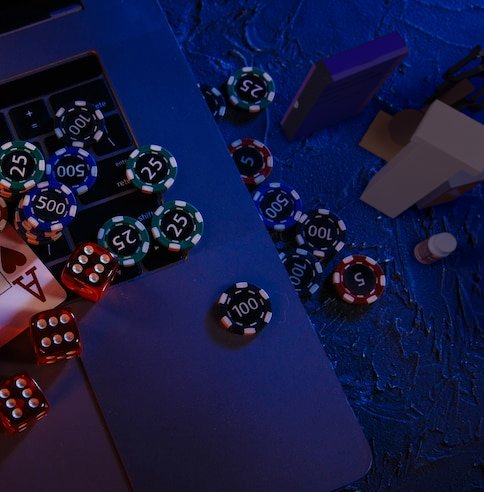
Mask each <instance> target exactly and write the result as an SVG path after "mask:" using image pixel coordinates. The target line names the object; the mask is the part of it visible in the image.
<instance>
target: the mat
mask: <svg viewBox="0 0 484 492" xmlns="http://www.w3.org/2000/svg"><path fill="white" fill-rule="evenodd" d="M392 117H393V116H392V115H390V114H389V113H387V112H386V111H383V110H382V109H380V110H378V113H377V114H376V116H375V117H374V119H373V120H372V122H371V124H370V125H369V127H368V129H367V130H366V132H365V133H364V135H363V137H362V138H361V140H360V142H358V146H360V147H361V148H363V149H365V150H367V151H368V152H369V153H372V154H373V155H375V156H377V157H379V158H380V159H382V160H384V161H386V162H387V163H388V162H389V161H390V160H391V159H392V158H394V157H395V156H396V155H397V154H398V153H399V152H400V151H401V150H402V149H403V148H404V147H405V146H402V145H399V144H397V143H395V142H394V141H393V140H392V139H391V137H390V135H389V131H388V127H389V122H390V120H391V118H392Z"/></svg>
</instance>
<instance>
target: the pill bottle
mask: <svg viewBox="0 0 484 492" xmlns="http://www.w3.org/2000/svg"><path fill="white" fill-rule="evenodd" d="M457 245H458V242H457V239H456V237H455V236H454V235H453V234H452V233H449V232H441V233H436V234H432V235H430V237H428V238H426V239H424V240H423V241H421V242H419V243H418V244H416V246H415V248H414V257H415V258H416V259H417V261H419V263H421V264H424V265H432V264H433V263H436V262H438V261H440V260H442V259H444V258H446V257H448V256H449V255H451V253H452V252H453V251H455V250H456V248H457Z"/></svg>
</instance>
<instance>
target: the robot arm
mask: <svg viewBox="0 0 484 492" xmlns="http://www.w3.org/2000/svg"><path fill="white" fill-rule="evenodd" d="M482 48H483V47H482V44H476V45H475V46H474V47H472V49H471V50H470V51H469V52H468V54H467V55H465V56H464V57H463V58H462V59H460V60H459V61H456V63H455V64H453V65H451V66H450V67H449V68H448V69H446V71H445V72H444V73H443V74H442V75H441V79H443V80H444V81H443V82H442V83H440V84H438V85H437V86H436V87H435V88H433V92H434V93H433V94H431V95H429V96H427V98H425V100H423V102H422V103H421V105H422V106H423V107H425V106H426V105H428V104H429V103H431V102H432V101H434V100H435V99H436V98H438V97H439V96H441V95H442V94H444V93H445V92H446V91H448V90H449V89H451V88H452V87H454V86H455V85H456V84H458V83H459V82H461V81H462V80H464V79H465V78H467V79H468V80H469V81H470V80H472V79H477V78H479V77H481V79H483V80H484V50H483V49H482ZM479 59H481V60H480V63H479V66H476V67H474V68H470V69H468V70H466V71H463V72H460V73H458V74H457V72H459V71H460V70H462V69H463V68H464V67H465V66H467V65H469V64H470V63H471V62H472V61H475V60H479ZM455 74H456V75H455ZM483 95H484V85H483V86H482V87H480V88H479V89H478V90H477V91H476V92H474V93H473V94H472V95H471V96H470V97H469V98H467V97H463V98H462V99H460V100H458V101H457V102H455V103H453V104H452V105H450V107H452V108H454V109H455V110H457V111H459V112H461V113H462V111H464V110H469V112H470V113H471V114H472V115H475V114H477V113H480V112H481V111H484V100H482V101H480V102H476V101H477V100H478V99H480V98H481V97H482V96H483Z"/></svg>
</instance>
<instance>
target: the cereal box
mask: <svg viewBox="0 0 484 492" xmlns="http://www.w3.org/2000/svg"><path fill="white" fill-rule="evenodd" d="M410 52H411V51H410V48H409V46H408V44H407V43H406V41H405V39H404V38H403V37H402V35H401V33H400V32H399V31H398V30H397V29H396V30H394V31H391V32H389V33H386V34H383V35H381V36H379V37H376V38H374V39H372V40H369V41H366V42H364V43H361V44H358V45H356V46H353V47H351V48H348V49H346V50H344V51H341V52H337V53H335V54H333V55H331V56H328V57H326V58H322V59H321V60H318V61H316V62H313V64H312V66H311V67H310V69H309V71H308V73H307V75H306V77H305V79H304V80H303V82H302V84H301V85H300V86H299V89H298V91H297V93H296V94H295V95H294V97H293V100H292V101H291V103H290V105H289V107H288V108H287V110H286V112H285V114H284V116H283V117H282V118H281V122H279V124H280V126H281V128H282V129H283V131H284V133H285V135H286V136H287V139H288V141H289V142H293V141H295V140H297V139H300V138H303V137H305V136H308V135H310V134H313V133H315V132H317V131H320V130H322V129H325V128H327V127H330V126H333V125H335V124H337V123H339V122H342V121H344V120H347V119H349V118H351V117H354V116H357V115H359V114H361V113H362V112H363V111H364V109H365V108H366V107H367V106H368V105H369V103H370V102H371V100H372V99H373V98H374V97H375V95H376V94H377V93H378V92H379V91H380V89H381V88H382V87H383V86H384V84H385V83H386V82H387V80H388V79H389V78H390V77H391V76H392V75H393V73H394V72H395V70H396V69H397V68H398V67H399V66H400V64H401V63H402V62H403V61H404V59H405V58H406V57H407V56H408V55H409V53H410Z"/></svg>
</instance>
